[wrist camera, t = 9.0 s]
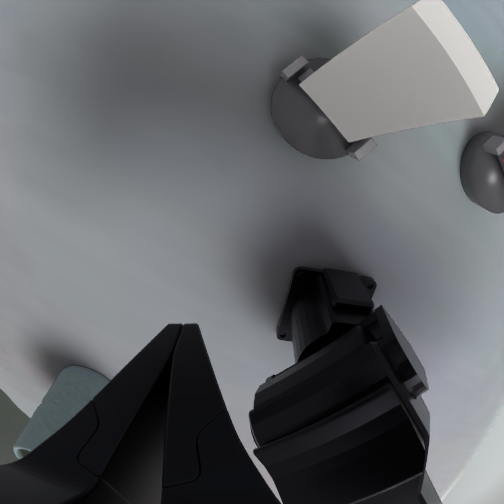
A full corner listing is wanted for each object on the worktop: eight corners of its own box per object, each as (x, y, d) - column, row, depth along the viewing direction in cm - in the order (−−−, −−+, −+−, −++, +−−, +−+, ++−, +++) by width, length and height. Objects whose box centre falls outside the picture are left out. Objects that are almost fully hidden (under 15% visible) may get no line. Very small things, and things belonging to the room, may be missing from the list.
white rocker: (343, 148, 16) (488, 124, 7) (288, 85, 15) (404, -2, 6) (364, 128, 16) (503, 96, 7) (312, 66, 15) (429, -16, 6)
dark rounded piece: (477, 220, 20) (503, 237, 17) (448, 158, 18) (476, 168, 15) (517, 179, 19) (544, 190, 15) (492, 117, 17) (521, 121, 13)
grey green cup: (109, 361, 27) (65, 460, 16) (147, 421, 31) (125, 508, 20) (41, 360, 28) (-6, 437, 17) (82, 416, 32) (52, 488, 21)
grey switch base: (315, 174, 19) (327, 187, 16) (249, 102, 18) (247, 99, 14) (382, 118, 18) (406, 120, 14) (320, 45, 16) (333, 31, 13)
